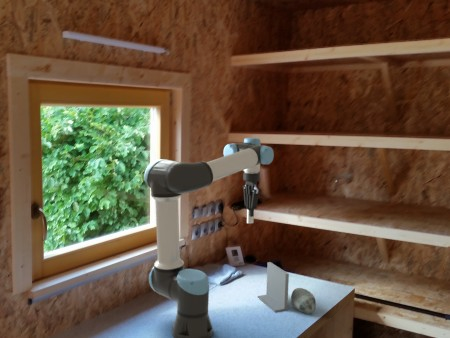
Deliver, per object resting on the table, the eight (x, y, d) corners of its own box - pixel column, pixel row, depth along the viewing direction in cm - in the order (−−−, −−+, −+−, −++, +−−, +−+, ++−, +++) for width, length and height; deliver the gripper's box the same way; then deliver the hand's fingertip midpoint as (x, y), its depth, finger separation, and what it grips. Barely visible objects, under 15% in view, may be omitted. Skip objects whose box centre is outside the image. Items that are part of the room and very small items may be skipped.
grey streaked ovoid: (323, 308, 191) (312, 286, 191) (304, 320, 190) (292, 298, 190) (313, 302, 205) (302, 282, 205) (295, 313, 203) (284, 293, 203)
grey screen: (275, 312, 194) (276, 275, 192) (257, 297, 209) (258, 263, 206) (287, 310, 196) (288, 273, 194) (269, 295, 211) (270, 262, 209)
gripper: (265, 173, 205) (264, 225, 208) (252, 169, 217) (251, 219, 220) (250, 174, 202) (249, 227, 205) (237, 170, 214) (236, 220, 217)
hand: (250, 222), depth 212 cm, fingers closed
